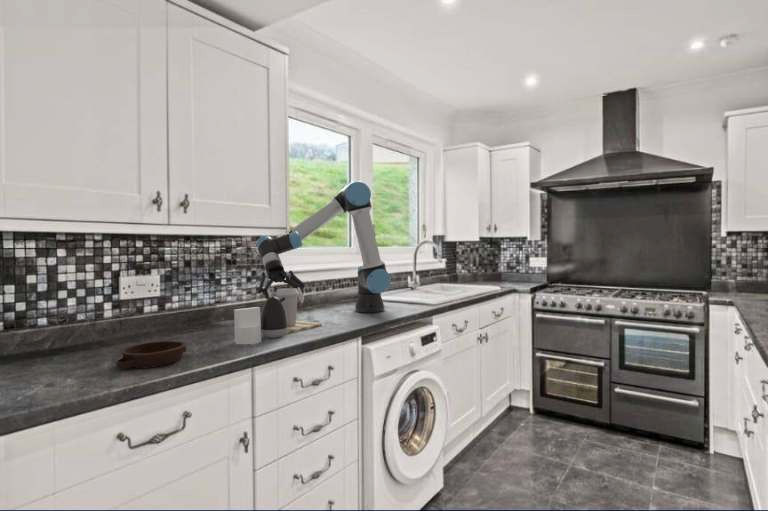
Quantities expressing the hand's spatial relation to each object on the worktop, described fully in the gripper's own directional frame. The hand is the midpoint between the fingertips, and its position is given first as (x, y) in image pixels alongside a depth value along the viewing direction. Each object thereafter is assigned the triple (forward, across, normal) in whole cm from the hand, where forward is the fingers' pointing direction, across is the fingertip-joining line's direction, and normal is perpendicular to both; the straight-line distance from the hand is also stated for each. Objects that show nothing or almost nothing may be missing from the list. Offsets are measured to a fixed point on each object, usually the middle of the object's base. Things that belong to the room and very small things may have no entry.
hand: (287, 302), depth 188 cm
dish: (+27, +54, +12) cm, 61 cm away
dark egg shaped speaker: (+18, +12, +2) cm, 21 cm away
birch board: (+7, 0, -8) cm, 11 cm away
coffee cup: (+6, 0, -8) cm, 10 cm away
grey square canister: (+19, +22, +4) cm, 30 cm away
